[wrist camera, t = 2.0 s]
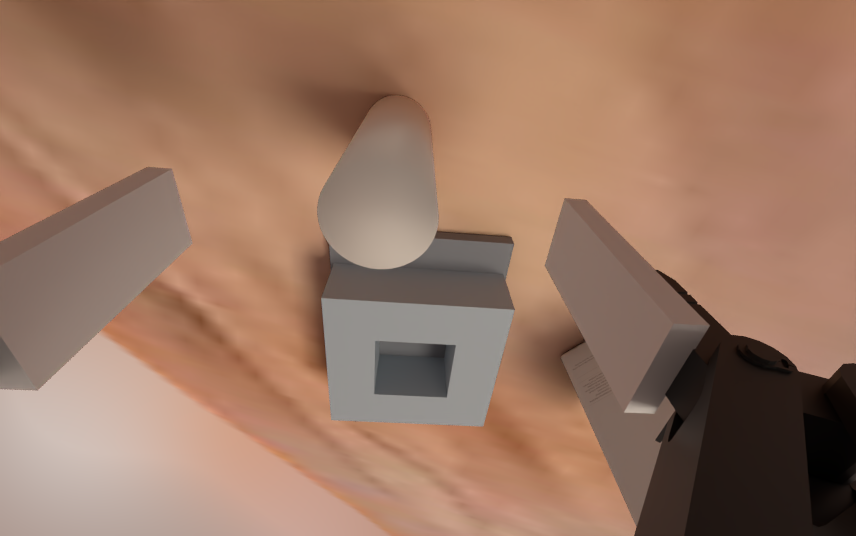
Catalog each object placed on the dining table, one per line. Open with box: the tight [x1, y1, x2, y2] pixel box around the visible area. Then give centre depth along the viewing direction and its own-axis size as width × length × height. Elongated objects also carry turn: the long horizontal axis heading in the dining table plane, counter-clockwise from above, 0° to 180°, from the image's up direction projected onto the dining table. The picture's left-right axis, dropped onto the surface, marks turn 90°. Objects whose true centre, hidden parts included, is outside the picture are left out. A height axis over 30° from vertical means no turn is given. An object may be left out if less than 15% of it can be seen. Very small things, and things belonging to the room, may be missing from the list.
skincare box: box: [561, 341, 675, 526], centre depth 27 cm, size 8×7×16 cm
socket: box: [321, 232, 515, 426], centre depth 29 cm, size 17×12×5 cm
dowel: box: [317, 95, 439, 269], centre depth 18 cm, size 4×4×12 cm
